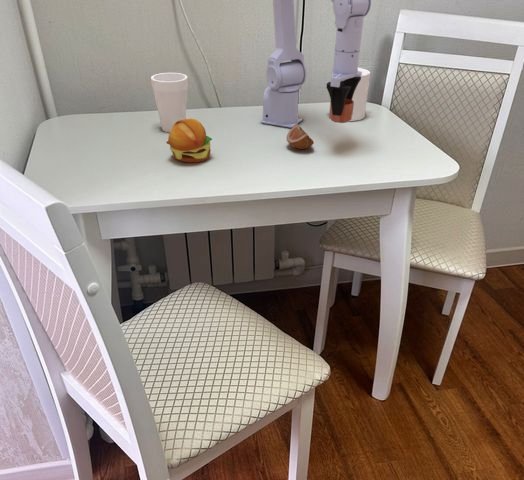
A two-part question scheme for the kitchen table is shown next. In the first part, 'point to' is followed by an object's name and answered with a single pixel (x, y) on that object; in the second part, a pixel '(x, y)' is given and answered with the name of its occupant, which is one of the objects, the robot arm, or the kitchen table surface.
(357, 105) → the toilet paper
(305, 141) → the fruit slice
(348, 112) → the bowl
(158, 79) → the foam cup
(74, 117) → the kitchen table surface
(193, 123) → the cheeseburger
